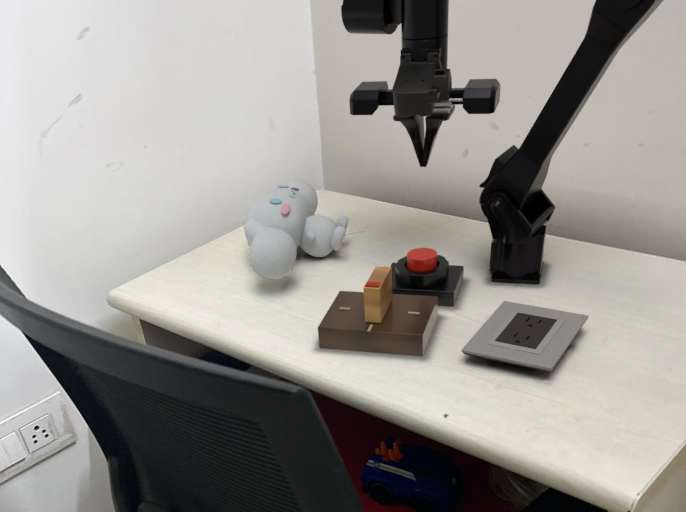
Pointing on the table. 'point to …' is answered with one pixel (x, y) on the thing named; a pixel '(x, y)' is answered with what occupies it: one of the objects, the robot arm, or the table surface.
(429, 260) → the button
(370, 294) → the knob
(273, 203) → the toy
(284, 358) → the table surface
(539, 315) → the electrical outlet
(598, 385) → the table surface
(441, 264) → the button box
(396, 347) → the panel
